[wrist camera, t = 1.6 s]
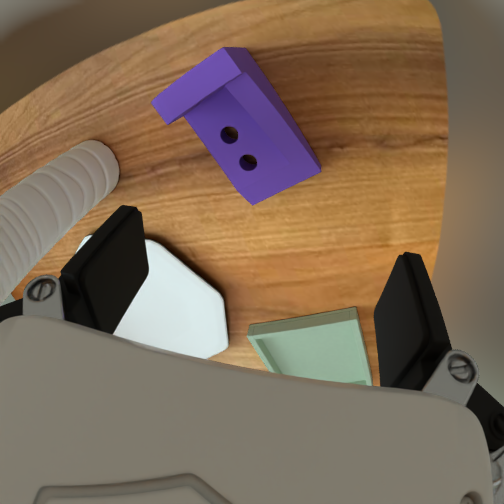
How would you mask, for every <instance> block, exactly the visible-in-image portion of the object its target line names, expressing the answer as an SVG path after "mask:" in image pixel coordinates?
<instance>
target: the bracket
mask: <svg viewBox="0 0 504 504" xmlns="http://www.w3.org/2000/svg"><path fill="white" fill-rule="evenodd" d="M151 103H152V105H153V106H154V108H155V109H156V110H157V112H158V113H159V114H160V116H161V117H162V118H163V120H164V121H165V122H166V124H167V125H169V124H171V123H172V122H174V121H176V120H177V119H179V118H181V117H182V116H184V117H185V118H186V120H187V121H188V123H189V124H190V125H191V127H192V128H193V129H194V131H195V132H196V134H197V135H198V136H199V138H200V139H201V141H202V142H203V143H204V145H205V146H206V147H207V149H208V150H209V152H210V153H211V154H212V156H213V157H214V159H215V160H216V161H217V163H218V164H219V166H220V167H221V168H222V170H223V171H224V173H225V174H226V175H227V177H228V178H229V180H230V181H231V182H232V184H233V185H234V187H235V188H236V190H237V191H238V192H239V193H240V194H241V195H242V196H243V197H244V198H245V199H246V200H247V201H248V202H250V203H251V204H252V205H254V204H256V203H258V202H260V201H262V200H264V199H266V198H268V197H271V196H273V195H275V194H277V193H279V192H281V191H283V190H285V189H287V188H289V187H291V186H293V185H295V184H297V183H299V182H301V181H303V180H305V179H307V178H309V177H312V176H314V175H316V174H318V173H320V172H321V165H320V163H319V161H318V159H317V158H316V156H315V154H314V152H313V151H312V149H311V147H310V146H309V144H308V142H307V141H306V139H305V137H304V136H303V134H302V132H301V131H300V129H299V127H298V126H297V124H296V123H295V121H294V119H293V118H292V116H291V115H290V113H289V111H288V110H287V108H286V107H285V105H284V104H283V102H282V100H281V99H280V97H279V96H278V94H277V93H276V91H275V90H274V88H273V87H272V85H271V84H270V82H269V81H268V79H267V78H266V76H265V75H264V73H263V72H262V71H261V69H260V68H259V66H258V65H257V63H256V62H255V61H254V59H253V58H252V56H251V55H250V54H249V52H248V51H247V49H246V48H238V47H223V48H221V49H220V50H218V51H217V52H215V53H214V54H212V55H211V56H209V57H208V58H206V59H205V60H204V61H202V62H201V63H199V64H198V65H197V66H195V67H194V68H192V69H191V70H190V71H188V72H187V73H186V74H184V75H183V76H182V77H180V78H179V79H178V80H176V81H175V82H174V83H173V84H171V85H170V86H169V87H168V88H166V89H165V90H164V91H163V92H161V93H160V94H159V95H158V96H157V97H156V98H154V100H153V101H152V102H151ZM227 126H231V127H234V128H235V129H236V130H237V132H238V139H233V138H230V137H229V136H228V135H227V134H226V132H225V129H224V127H227ZM245 154H250V155H253V156H254V157H255V158H256V160H257V164H250V163H248V162H246V161H245V160H244V159H243V157H242V156H243V155H245Z"/></svg>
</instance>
